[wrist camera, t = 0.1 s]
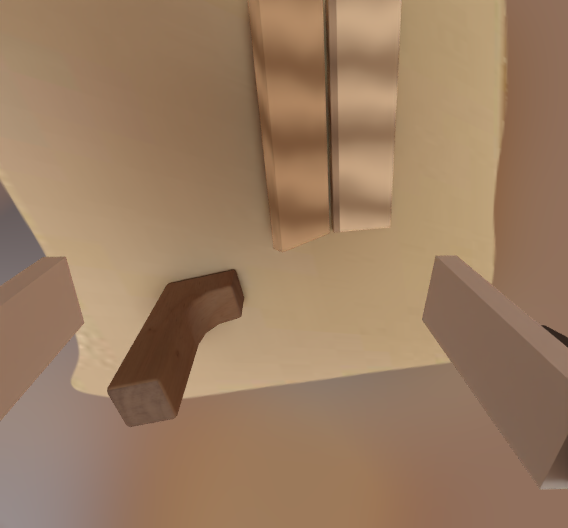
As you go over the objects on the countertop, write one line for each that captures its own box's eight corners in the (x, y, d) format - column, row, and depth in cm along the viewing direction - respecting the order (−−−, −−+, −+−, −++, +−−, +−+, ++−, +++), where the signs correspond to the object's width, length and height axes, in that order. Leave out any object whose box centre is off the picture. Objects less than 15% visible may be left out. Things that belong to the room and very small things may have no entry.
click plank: (246, -7, 27) (258, -13, 26) (310, 1, 31) (322, -4, 30) (273, 248, 37) (282, 252, 36) (320, 230, 41) (329, 233, 40)
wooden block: (235, 268, 43) (213, 369, 27) (245, 298, 45) (229, 410, 29) (166, 283, 44) (103, 390, 27) (178, 312, 45) (126, 429, 29)
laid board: (325, 1, 32) (328, -4, 30) (396, -6, 32) (402, -11, 30) (331, 227, 41) (333, 232, 40) (386, 222, 41) (390, 227, 40)
